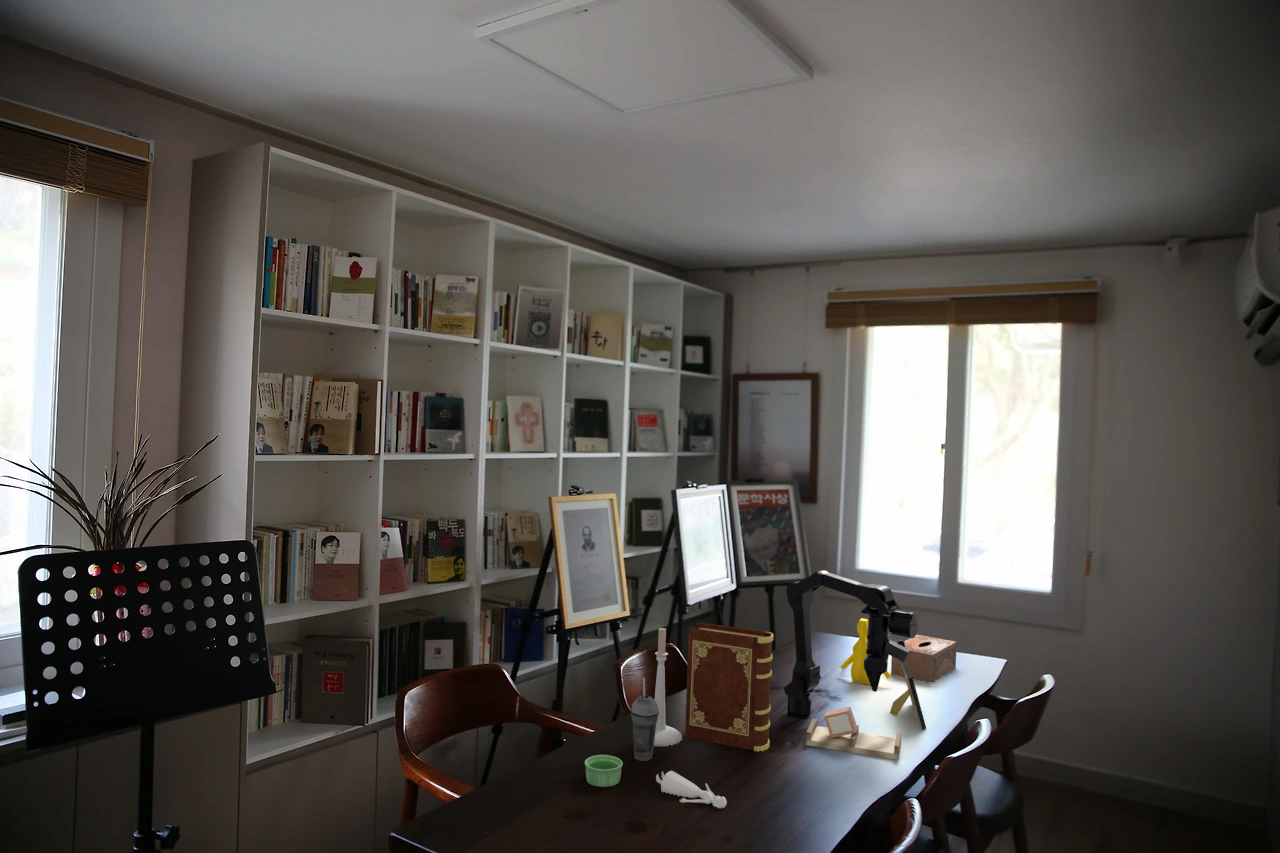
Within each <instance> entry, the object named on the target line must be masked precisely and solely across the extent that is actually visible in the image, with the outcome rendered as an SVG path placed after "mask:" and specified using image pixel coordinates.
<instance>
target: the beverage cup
mask: <svg viewBox="0 0 1280 853" xmlns="http://www.w3.org/2000/svg"><path fill="white" fill-rule="evenodd" d="M642 693H643V694H642V695H640V696H639V697H637V698H636V699H635V700H634V701H633V702H632V705H631V709H630V714H631V722H632V734H633V735H632V736H633V737H632V738H633V739H632V740H633V753H634V759H635V760H637V761H641V762H647V761H651V760H652V759H653V754H654V748H655V746H654V740H655V731H656V723H657V720H658V714H659V711H658V705H657V703H656V701H655V698H653V697H652V696H650V695H646V679H645V677H643V678H642ZM650 759H651V760H650Z"/></svg>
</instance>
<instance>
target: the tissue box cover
mask: <svg viewBox="0 0 1280 853" xmlns="http://www.w3.org/2000/svg"><path fill="white" fill-rule="evenodd" d="M904 641H905V647H908V649H909V653H908V656H907V658H906V660H905V661H906V663H907V665H908V668H909V670H910V672H911V675H912V677H913V680H914V679H915V680H916V681H919V680H920V682H924V681H925V682H924V683H928V682H930V683H929V684H933V683H935V682H936V681H938V680H939V679H941V678H942V677H944V676H946V675H947V674H949V673H950V672H952V671H953V670H952V669H954V668H955V669H956V667H957V666H956V665H957V645H958V644H957V641H955V640H949V639H948V640H947V639H943V638H938V637H932V636H926V635H922V634H916V636H915V637H914V638H908V639H906V640H904ZM890 664H891V665H890V666H891V667H890V675H891V676H897V677H900V676H901V678H905V675H904V671H903V668H902V664H901V661H900V660H899V659H897V658H895V657H893V656H891V663H890ZM955 669H954V670H955ZM951 670H952V671H951ZM949 671H950V672H949ZM948 672H949V673H948ZM946 673H947V674H946ZM945 674H946V675H945ZM943 675H944V676H943ZM941 676H942V677H941ZM940 677H941V678H940ZM938 678H939V679H938ZM937 679H938V680H937ZM915 680H914V681H915ZM935 680H936V681H935ZM932 682H933V683H932Z"/></svg>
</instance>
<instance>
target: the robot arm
mask: <svg viewBox="0 0 1280 853" xmlns="http://www.w3.org/2000/svg"><path fill="white" fill-rule="evenodd" d="M821 587H824V588H829V589H831V590H833V591H837V592H839V593H842V594H845V595H849V596H851V597H855V598H857V599H858V600H859V601H860V602H862V603H863V604H865V605H866V606H865V608H863V609H862V610H860V613H861V614H866V615H868V616H867V619H868V632H867V649H866V654H867V656H866V657H865V658H864V669H865V671H866V674H867V677H868V679H869V682H870V685H869V686H870V688H871V690H872V692H876V693H877V692H878V688H879V684H880V681H881V677H882V675H884V674H883V673H884V672H886V671H888V663H889V662H888V660H889V656H890V657H892V656H893V657H895V658H897V659H899V660H900V661H901V662H905V660H906V658H907V656H908V653H909V649H908V647H905V641H906V640H902V639H898V640H897V641H895V640H894V641H893V640H891V638H890V636H891V635H889V633H890V634H892V635H894V636H899V637H903V638H908V639H910V638H914V637H915V636H916V635H918V634H917V633H918V627H919V624H918V621H917V618H916V613H915V612H908V611H907V612H906V611H901V608H900V607H899V605H898V603H897V601H896V600H895V598H894V594H893V592H892V590H891V588H890V587H888V586H886V585H882V584H876V583H875V584H872V583H863V582H859V581H856V580H853V579H850V578H847V577H843V576H841V575H839V574H838V575H837V574H835V573H831V572H828V571H827V570H825V569H823V570H818V571H815V572H813V573H812V574H810V575H809V576H808V577H805V578H803V579H801V580H799V581H795V582H790V583H789V584H788V585H787V586H786V589H785V594H786V599H787V604H788V606H789V607H790V610H791V611H792V619H793V631H794V632H793V634H794V645H795V646H794V647H795V649H794V650H795V663H794V664H793V665H794V666H793V669H792V675H791V676H792V677H791V681H790V682H789V683H788V684H787V685H786V686H784V687H783V690H784V691H783V692H784V694H785V696H787V706H786V709H787V711H786V713H785V716H787V717H792V718H800V719H806V720H807V719H809V717H810V716H811V715H812V713H813V699H812V698H811V693H813V692H814V690H815V688H817V687H818V685H819V684H820V680H821V679H822V676H821V665H819V664H817V665H816V664H815V661H814V660H813V651H812V650H813V648H812V636H811V635H812V633H811V623H810V622H811V621H810V620H811V619H810V610H811V608H812V607H811V606H812V604H813V600H814V599H813V598H814V592H815V591H817V590H819V589H821Z"/></svg>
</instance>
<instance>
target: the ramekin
mask: <svg viewBox="0 0 1280 853" xmlns="http://www.w3.org/2000/svg"><path fill="white" fill-rule="evenodd" d="M623 764H624V763H623V761H622V760H621V759H620V758H619V757H616V756H613V755H608V754H597V755H592V756H589V757H588V758H586V759H585V760H584V767H585V778H586V782H587V784H590V785H591V786H594V787H600V788H609V786H610V787H613V786H615V785H618V784H619V783H620V780H621V776H622V769H623V768H622V767H623Z"/></svg>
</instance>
